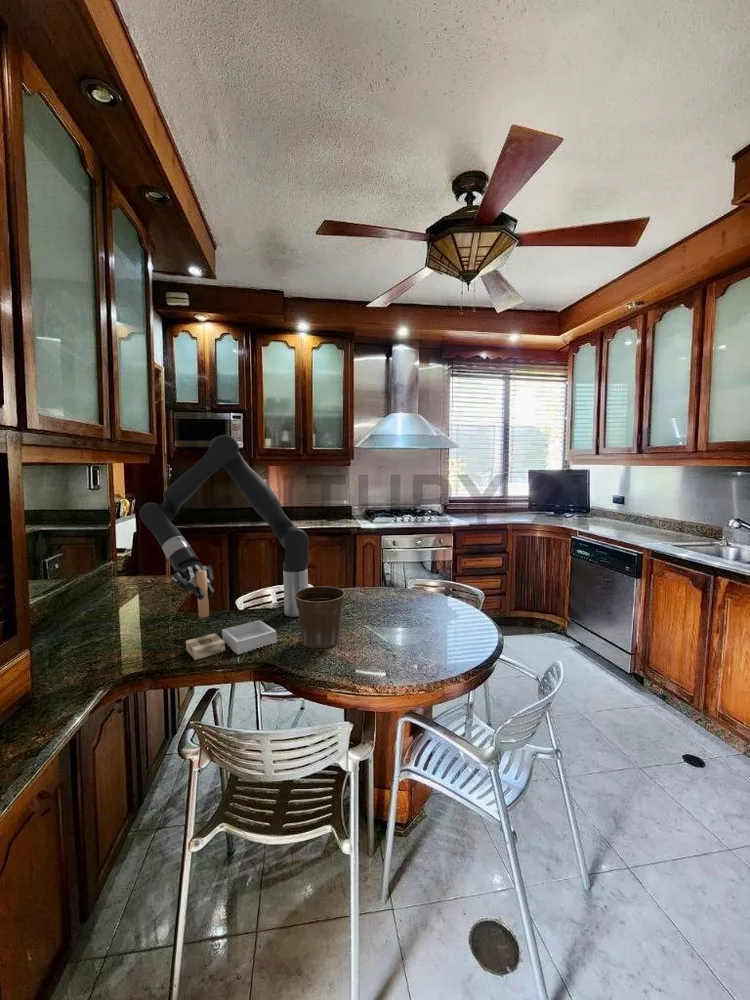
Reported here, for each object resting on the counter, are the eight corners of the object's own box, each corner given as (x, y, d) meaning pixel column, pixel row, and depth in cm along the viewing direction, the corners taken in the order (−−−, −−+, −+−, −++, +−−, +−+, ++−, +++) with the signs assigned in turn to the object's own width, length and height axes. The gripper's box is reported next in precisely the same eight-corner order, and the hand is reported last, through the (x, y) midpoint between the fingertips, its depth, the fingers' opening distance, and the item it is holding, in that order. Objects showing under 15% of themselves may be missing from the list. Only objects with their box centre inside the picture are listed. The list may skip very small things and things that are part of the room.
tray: (259, 631, 150) (259, 619, 149) (276, 643, 139) (276, 631, 139) (222, 641, 141) (221, 629, 141) (237, 654, 131) (237, 642, 131)
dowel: (207, 613, 136) (204, 569, 134) (210, 615, 133) (207, 571, 132) (197, 615, 134) (194, 571, 133) (200, 618, 132) (197, 573, 130)
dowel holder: (215, 642, 141) (214, 633, 141) (225, 651, 134) (224, 641, 134) (186, 650, 135) (185, 640, 135) (195, 660, 128) (194, 650, 128)
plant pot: (355, 637, 143) (354, 590, 141) (326, 657, 129) (324, 604, 128) (316, 628, 151) (315, 583, 150) (285, 645, 137) (283, 596, 136)
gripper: (163, 550, 129) (192, 595, 124) (203, 542, 141) (231, 583, 136) (154, 565, 133) (181, 610, 128) (194, 556, 145) (220, 597, 140)
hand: (207, 596), depth 132 cm, fingers closed on dowel, 3 cm apart
